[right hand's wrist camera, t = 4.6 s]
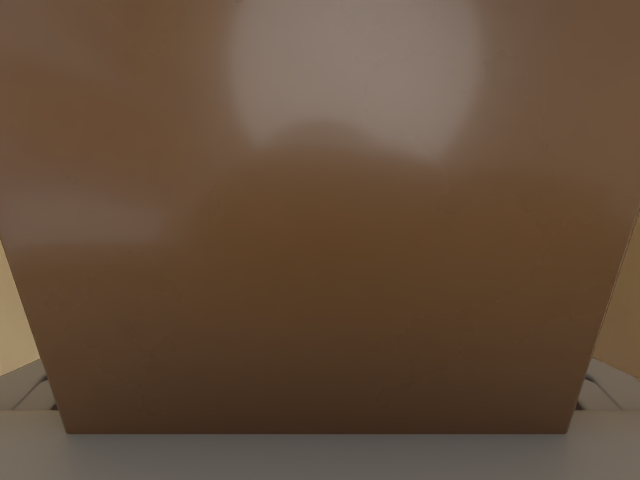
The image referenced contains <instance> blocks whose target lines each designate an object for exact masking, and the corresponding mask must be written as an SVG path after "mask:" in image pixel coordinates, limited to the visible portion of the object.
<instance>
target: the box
mask: <svg viewBox="0 0 640 480" xmlns="http://www.w3.org/2000/svg"><path fill="white" fill-rule="evenodd" d="M639 211H640V0H0V239H1V242H2V245H3V248H4V251H5V254H6V257H7V260H8V263H9V266H10V269H11V272H12V275H13V278H14V281H15V284H16V286H17V289H18V292H19V295H20V298H21V301H22V304H23V307H24V310H25V313H26V316H27V319H28V322H29V325H30V328H31V331H32V334H33V337H34V340H35V343H36V346H37V349H38V352H39V355H40V358H41V361H42V364H43V367H44V370H45V372H46V375H47V378H48V381H49V384H50V387H51V390H52V393H53V396H54V399H55V402H56V405H57V408H58V411H59V414H60V417H61V420H62V423H63V426H64V429H65V432H66V433H67V434H566V433H567V432H568V428H569V425H570V422H571V419H572V416H573V413H574V410H575V407H576V404H577V401H578V398H579V395H580V392H581V389H582V386H583V382H584V379H585V376H586V373H587V370H588V367H589V364H590V361H591V358H592V355H593V352H594V349H595V346H596V343H597V339H598V336H599V333H600V330H601V327H602V324H603V321H604V318H605V315H606V312H607V309H608V306H609V303H610V300H611V297H612V293H613V290H614V287H615V284H616V281H617V278H618V275H619V272H620V269H621V266H622V263H623V260H624V257H625V254H626V250H627V247H628V244H629V241H630V238H631V235H632V232H633V229H634V226H635V223H636V220H637V217H638V214H639Z"/></svg>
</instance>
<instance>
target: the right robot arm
mask: <svg viewBox="0 0 640 480" xmlns="http://www.w3.org/2000/svg"><path fill="white" fill-rule="evenodd" d="M0 480H640V380H638V379H637V378H636V377H634V376H632V375H630V374H627V373H625V372H623V371H621V370H619V369H617V368H614V367H612V366H610V365H608V364H606V363H604V362H601V361H599V360H597V359H595V358H593V357H592V358H591V361H590V364H589V367H588V370H587V373H586V376H585V379H584V382H583V386H582V389H581V392H580V395H579V398H578V401H577V404H576V407H575V410H574V413H573V416H572V419H571V422H570V425H569V428H568V432H567V433H566V434H67V433H66V432H65V429H64V426H63V423H62V420H61V417H60V414H59V411H58V408H57V405H56V402H55V399H54V396H53V393H52V390H51V387H50V384H49V381H48V378H47V375H46V372H45V370H44V367H43V364H42V361H41V358H40V359H38V360H36V361H34V362H31V363H29V364H27V365H25V366H23V367H21V368H18V369H16V370H14V371H12V372H10V373H7V374H5V375H3V376H1V377H0Z"/></svg>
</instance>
